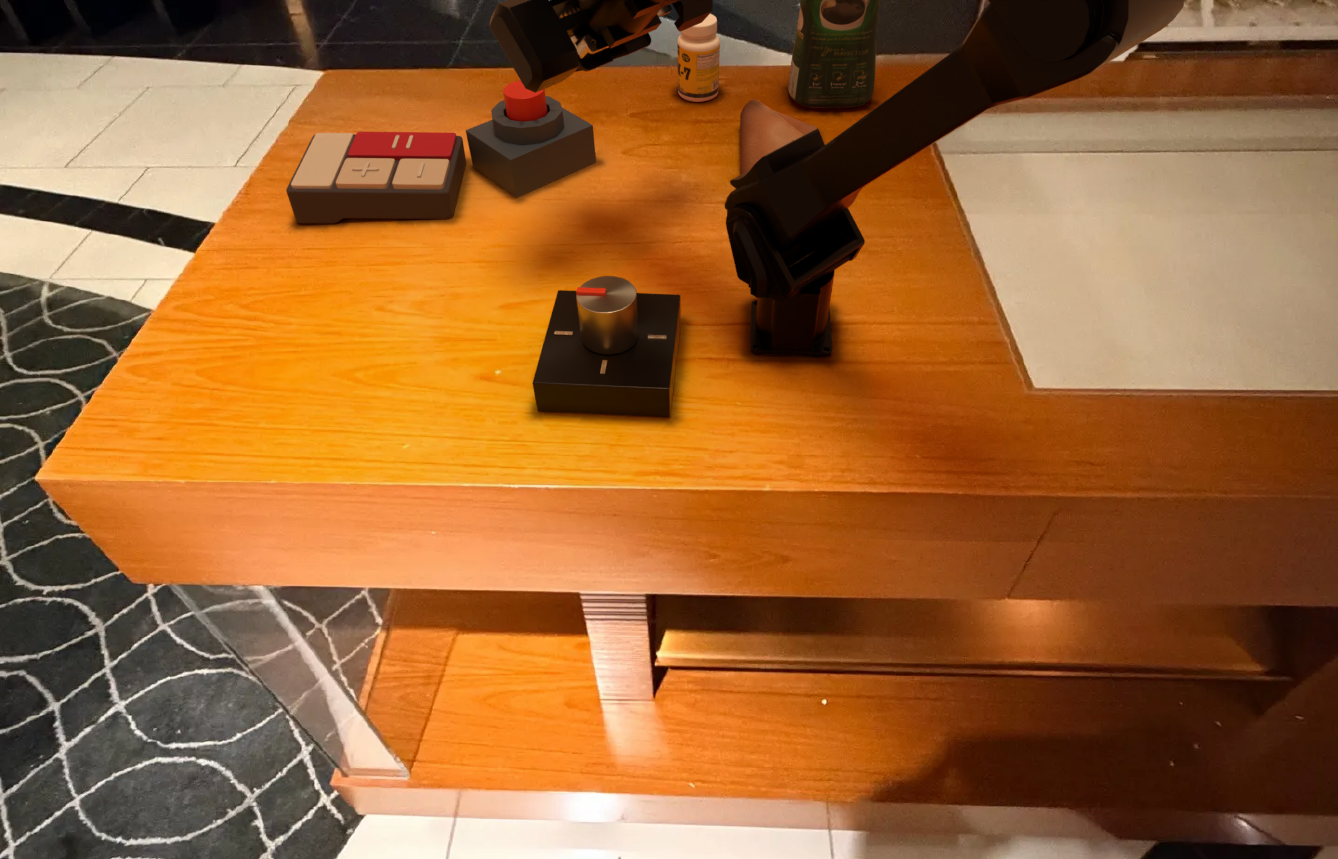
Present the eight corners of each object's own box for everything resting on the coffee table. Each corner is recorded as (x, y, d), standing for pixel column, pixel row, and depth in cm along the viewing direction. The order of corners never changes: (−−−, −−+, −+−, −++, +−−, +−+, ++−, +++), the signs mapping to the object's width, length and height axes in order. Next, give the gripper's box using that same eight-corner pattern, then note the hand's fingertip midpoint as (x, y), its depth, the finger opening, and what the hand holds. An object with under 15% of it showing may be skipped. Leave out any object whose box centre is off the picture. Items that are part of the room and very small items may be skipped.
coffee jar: (867, 81, 101) (894, -98, 87) (875, 112, 96) (905, -73, 82) (784, 80, 101) (799, -98, 88) (787, 112, 96) (803, -72, 82)
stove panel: (670, 418, 64) (669, 387, 61) (537, 411, 64) (531, 381, 62) (680, 323, 71) (680, 292, 69) (561, 318, 72) (557, 288, 69)
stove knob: (641, 318, 67) (639, 273, 64) (635, 355, 64) (633, 310, 61) (585, 316, 67) (580, 271, 64) (577, 353, 64) (571, 308, 61)
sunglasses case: (832, 216, 80) (801, 160, 76) (765, 248, 83) (732, 195, 79) (817, 124, 93) (790, 72, 89) (759, 154, 96) (730, 105, 92)
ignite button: (555, 114, 85) (552, 89, 83) (522, 128, 83) (518, 102, 81) (532, 100, 87) (528, 76, 85) (499, 113, 85) (494, 88, 83)
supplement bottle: (671, 88, 100) (670, 14, 94) (709, 81, 102) (710, 7, 95) (686, 106, 97) (686, 30, 91) (725, 98, 98) (727, 23, 92)
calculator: (446, 185, 80) (281, 183, 79) (453, 225, 83) (295, 224, 82) (461, 128, 87) (311, 126, 86) (467, 166, 90) (322, 165, 90)
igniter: (596, 163, 89) (591, 107, 85) (516, 198, 85) (507, 142, 80) (551, 135, 93) (544, 81, 89) (472, 168, 89) (461, 113, 84)
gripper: (686, -178, 64) (603, -49, 77) (477, -122, 55) (426, 12, 69) (760, -39, 65) (666, 64, 79) (568, 37, 57) (501, 137, 70)
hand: (570, 66), depth 74 cm, fingers closed
